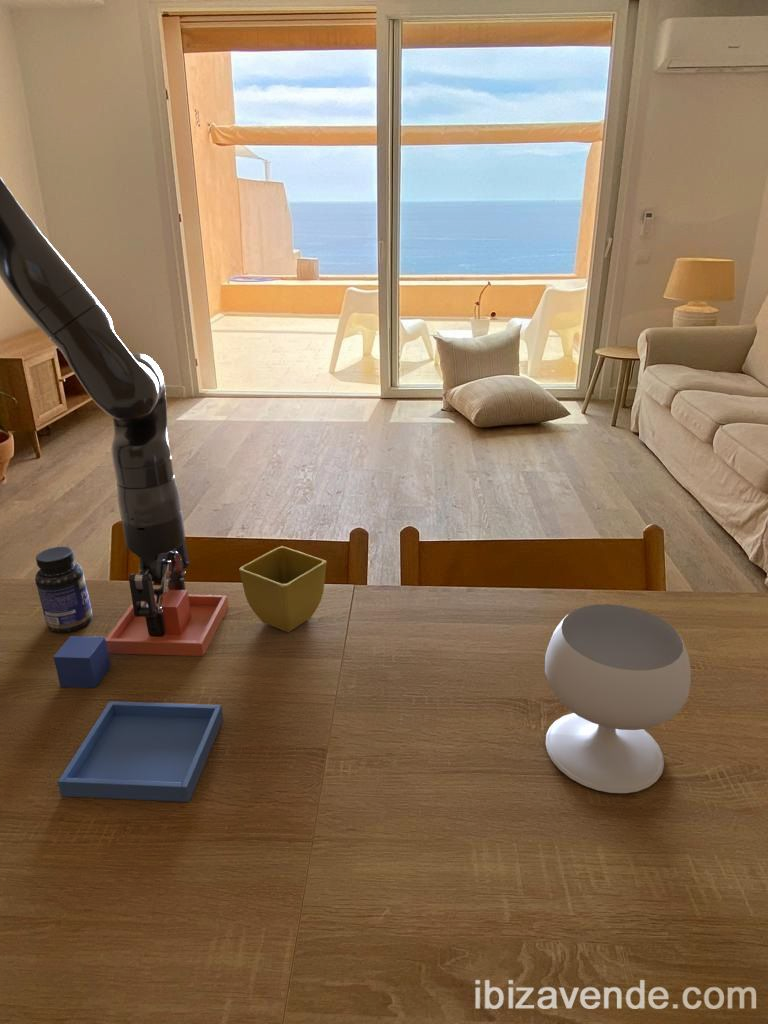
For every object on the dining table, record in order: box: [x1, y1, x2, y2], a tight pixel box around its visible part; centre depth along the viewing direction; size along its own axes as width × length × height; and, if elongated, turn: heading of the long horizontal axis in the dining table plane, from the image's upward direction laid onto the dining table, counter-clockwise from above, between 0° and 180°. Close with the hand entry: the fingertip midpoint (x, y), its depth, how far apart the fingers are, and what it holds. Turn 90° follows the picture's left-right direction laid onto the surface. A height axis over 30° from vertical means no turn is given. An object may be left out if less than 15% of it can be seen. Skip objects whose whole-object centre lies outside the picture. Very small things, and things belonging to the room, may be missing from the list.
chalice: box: [544, 603, 692, 794], centre depth 71 cm, size 14×14×15 cm
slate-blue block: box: [52, 635, 112, 689], centre depth 87 cm, size 4×4×4 cm
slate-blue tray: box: [57, 700, 224, 803], centre depth 75 cm, size 13×12×2 cm
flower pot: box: [238, 545, 327, 633], centre depth 97 cm, size 9×9×9 cm
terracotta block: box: [154, 589, 191, 635], centre depth 96 cm, size 4×4×4 cm
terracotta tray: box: [105, 593, 229, 657], centre depth 97 cm, size 13×12×2 cm
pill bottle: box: [34, 546, 94, 634], centre depth 97 cm, size 6×6×11 cm
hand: (168, 617), depth 96 cm, fingers open, 8 cm apart
